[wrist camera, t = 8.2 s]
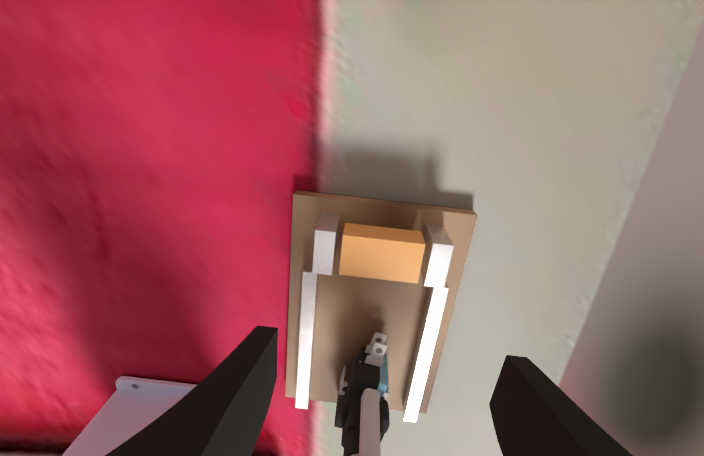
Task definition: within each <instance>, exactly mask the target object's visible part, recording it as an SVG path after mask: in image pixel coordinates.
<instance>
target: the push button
mask: <svg viewBox="0 0 704 456" xmlns="http://www.w3.org/2000/svg"><path fill="white" fill-rule="evenodd" d="M376 338H381V339H382V341H381V342H377V341H376V340H375V339H376ZM386 338H387V336H386V335H385V334H382V333H378V332H375V333H374V336H373V338H372V341H371V343H370V345H367V347H366V348H364V347H361V349H360V352H359V354H358V357H355V358H354V361H353V364H352V369H351V374H350V378H349V381H348V382H345V381H344V379H345V370H346V366H344V368H343V371H342V374H341V378H340V387H339V393H338V398H337V407H336V416H335V427H339V428H343V431H342V443H341V445H342V446H343V447H344V456H380V443H381V440H382V438H383V436H384V434H385V433H386V431H387V430H388V427H389V406H388V401H386V398H387V396H388V394H389V392H388V390H389V376H388V367H387V354H386V353H385V352H386V349H387V345H385V344H384V343H385V340H386Z"/></svg>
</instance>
